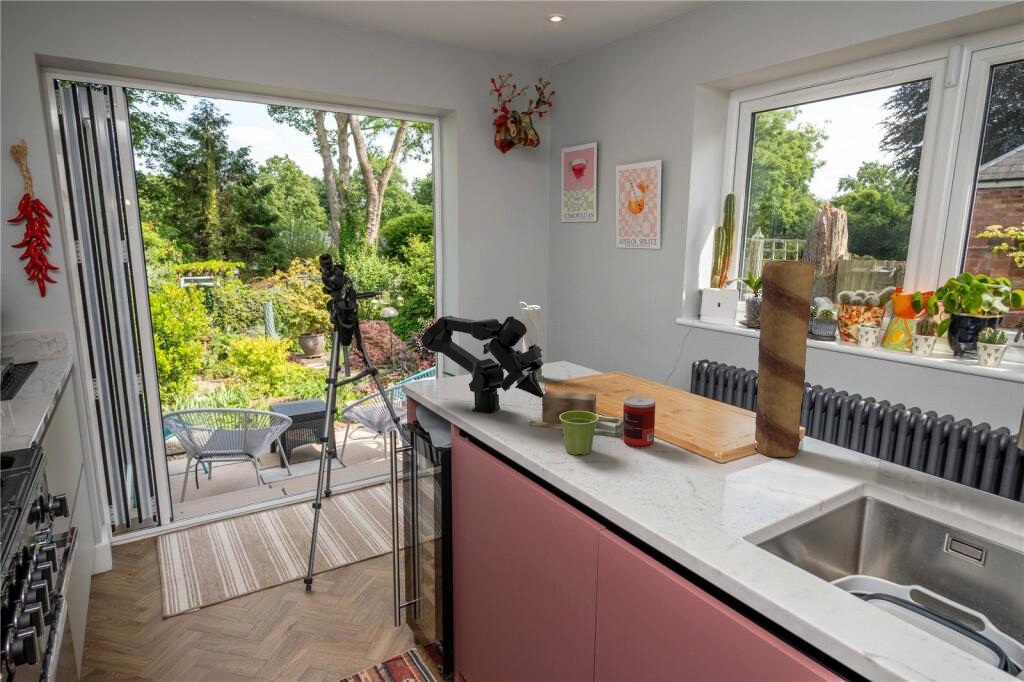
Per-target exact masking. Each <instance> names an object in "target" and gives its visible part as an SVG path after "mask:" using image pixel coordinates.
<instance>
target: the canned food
mask: <svg viewBox="0 0 1024 682" xmlns="http://www.w3.org/2000/svg"><path fill="white" fill-rule="evenodd" d="M622 417H623V432H622V441H623V443H624V445H627V446H628V447H631V448H637V449H646V448H650V447H651V446H653V444H654V443H655V420H656V401H655V399H654V398H653V397H652V398H651V397H648V396H641V395H636V396H635V395H633V396H628V397H625V398H624V400H623V413H622Z"/></svg>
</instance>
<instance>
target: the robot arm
mask: <svg viewBox="0 0 1024 682" xmlns="http://www.w3.org/2000/svg"><path fill="white" fill-rule="evenodd" d="M454 332H457V333H458V332H459V333H464V334H468V335H471V337H472V338H473V339H476V340H479V341H481V342H482V341H487V340H490V341H489V342H486V343H484V344H483V353H482V354H483V355H487V354H489V353H490V354H491V355H492V356H493V357H494V359H496V361H497V362H498V363H497V362H495V360H493V359H492V358H490V357H489V358H485V359H479V358H478V357H476V356H475V355H474V354H472V353H470V352H469V351H467V350H466V349H464V348H463V347H462V346H460V345H458V344H457V343H456V342H454V341H453V336H454ZM526 332H527V329H526V326H525V325H524V324H523V323H522V322H521V320H519V319H517V318H515V317H514V316H513V315H509V316H507V317H506V319H505V320H504V322H503V323H502V322H499V319H497V318H488V319H487V318H486V319H479V320H475V319H469V318H462V317H456V316H453V315H447V316H441V317H439V318H438V319H437V320H436V322H435V323H433V324H432V325H430V327H428V328H427V329H426V331H424V332H423V335H422V337H421V344H422V345H423V347H424V348H425V349H426V350H428V351H431V352H434V353H441V354H443V355H445V356H446V357H448V359H450V360H452V361H453V362H454V363H456V364H457V365H459V366H460V367H462V368H463V369H464V370H466V371H467V372H468V373H470V374H471V378H472V380H471V381H470V382H469V383H468V388H469V391H470V392H473V393H474V396H473V397H474V407H473V408H472V409H471V411H472V412H477V413H478V412H479V413H485V414H491V413H494V412H496V411H498V409H501V406H500V395H499V393H498V389H502V390H503V391H504V392H506V391H509V390H510V389H511V386H512V385H514V383H515V382H516V384H517V385H516V386H515V387H514V388H515V389H519V390H521V391H524V392H527V393H529V394H531V395H533V396H535V397H537V398H540V399H541V398H542V397H543V395H544V394H545V393H544V392H543V389H542V388H541V385H540V384H539V381H537V378H536V375H537V371H538V369H539V368H540V367H541V368H542V366H544V362H543V361H542V359H541V360H540V359H539V358H540V357H541V358H542V357H543V355H542V350H543V349H542V348H541V347H540V348H539V346H537V345H535V344H534V345H532V346H530V347H529V351H526V352H524V353H522V350H518V349H517V350H515V349H514V347H515V346H516V345H517V344H518V342H519V341H521V339H523V336H524V335H525V333H526ZM504 370H505V371H506V372H507V373H508V374H506V376H505V372H504Z"/></svg>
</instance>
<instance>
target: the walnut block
mask: <svg viewBox="0 0 1024 682" xmlns="http://www.w3.org/2000/svg"><path fill="white" fill-rule="evenodd" d="M543 394H544V395H543V397H541V398H542V399H541V403H542V404H541V406H542V407H541V408H542V409H541V410H542V411H541V412H542V413H541V415H542V416H541V417H542V418H541V420H542V421H541V422H547V423H554V424H562V423H561V420H560V418H559V416H560V415H561V414H562V413H565V412H569V411H587V412H592V413H594V414H596V415H597V393H585V392H568V391H566V392H565V391H552V390H551V391H550V390H546V391H545V393H543Z"/></svg>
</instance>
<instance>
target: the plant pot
mask: <svg viewBox="0 0 1024 682" xmlns="http://www.w3.org/2000/svg"><path fill="white" fill-rule="evenodd" d="M598 416H599V415H598V414H597V413H596V414H594V413H592V412H587V411H569V412H565V413H562V414H561V415H560V416H559V418H560V420H561V423H562V425H563V429H562V430H563V431H562V432H563V434H564V436H563V437H564V446H565V451H566V453H568V454H570V455H574V456H577V455H582V456H584V455H588V454H590V453H591V452H592V448H593V441H594V435H595V434H594V430H595V429H596V426H597V422H598V421H600V420H599V417H598Z"/></svg>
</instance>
